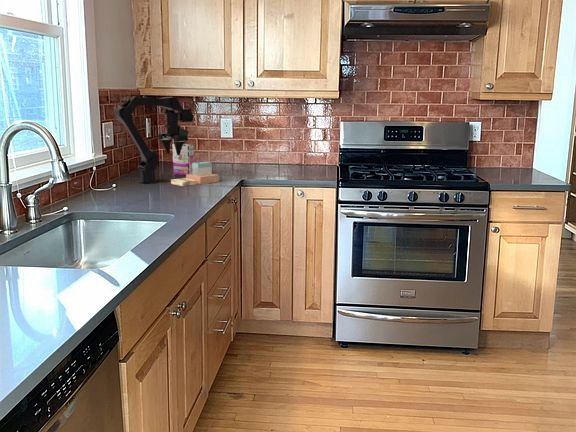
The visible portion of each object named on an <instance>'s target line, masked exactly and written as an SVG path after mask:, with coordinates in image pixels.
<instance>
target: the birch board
mask: <svg viewBox="0 0 576 432" xmlns="http://www.w3.org/2000/svg"><path fill="white" fill-rule="evenodd" d="M170 184H172V185H175V186H180V187H186V186H194V185H196V186H197V185H198V184H197V180H192V179H187V178H186V177H182V178H174V179H173V178H172V179H170Z"/></svg>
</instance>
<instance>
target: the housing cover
mask: <svg viewBox="0 0 576 432" xmlns="http://www.w3.org/2000/svg"><path fill="white" fill-rule="evenodd" d="M212 165H213V163H212V162H210V161H196V162H194V163H192V167H195V168H203V167H212ZM212 168H213V167H212Z"/></svg>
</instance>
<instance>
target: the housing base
mask: <svg viewBox="0 0 576 432" xmlns="http://www.w3.org/2000/svg"><path fill="white" fill-rule="evenodd" d="M212 168H213V167H203V168H195V167H192V174H193V175H195V176H203V175H212V174H213V171H212V170H213V169H212Z"/></svg>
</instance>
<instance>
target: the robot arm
mask: <svg viewBox="0 0 576 432" xmlns="http://www.w3.org/2000/svg"><path fill="white" fill-rule="evenodd" d="M138 106H150V107H151V106H152V107H153V106H155V107H161V108H164V110H163V111H161V114H162V115H163V114H164V115H165V121H166V123H165V124H164V127H165V128H166V132H160V133H158V134H157V139H158V140H159V141H160V143H161V144H162V146H163V149H164V151H165V152H166V154H167V155H169V154H170V152H171V151H170V150H171V143H172V141H173V144H174V145H175V149H176V153H177V155H180V152H181V149H182V146H183V144H186V143H187V141H189V133H190V131H189V130H187V129H185V128H182V127H181V125H180V124H179V122H180V123H192V122H193V121H194V113H193V112H192V109H191V108H183V106H182V105H181V104H180V100H179V98H177V97H174V96H164V97H154V98H153V97H143V96H141V97H140V96H136V95H135V96H133V95H132V96H131V97H129V99H128V100H127V101H126V102H124V103H123V104H122V105H120V106H118V107H116V108H115V109H114V117H115V118H116V119H117V121H119V122H120V123H121V124H122V125H123V126H124V127H125V129H126V131H127V132H128V135H129V136H130V138H131V139H132V141H133V143H134V144H135V146H136V148H137V149H138V151H139V154H140V159H141V161H140V162H139V163H138V165H137V167H138V169H139V180H138V183H140V184H144V185H146V184H147V185H148V184H154V183H157V181H156V173H155V170H156V168H157V166H158V165H159V161H160V160H159V156H158V155H157V152H156V151H155V150H154V149H150V148H149V147H148V145H147V144H146V142H145V140H144V138H143V136H142V135H141V133H140V132H139V129H138V128H137V126H136V124H135V122H134V116H133V114H132V113H133V112H134V111H135V110H136V108H137V107H138ZM168 109H169V110H168Z"/></svg>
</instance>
